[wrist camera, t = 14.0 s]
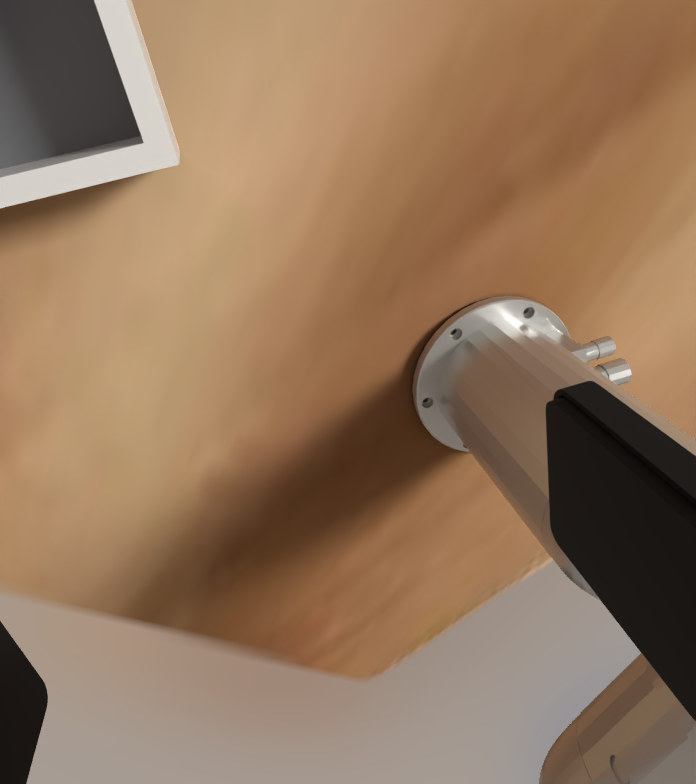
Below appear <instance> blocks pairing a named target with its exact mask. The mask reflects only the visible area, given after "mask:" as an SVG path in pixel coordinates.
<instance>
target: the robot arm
mask: <svg viewBox="0 0 696 784" xmlns="http://www.w3.org/2000/svg"><path fill="white" fill-rule="evenodd" d="M452 330H453V332H452ZM615 350H616V346H615V343H614V341H613V339H612V338H611V337H609V336H606V337H603V338H600V339H596V340H593V341H591V342H590V343H586V344H583V345H582V344H581V343H579V342H578V343H577V342H575V341H574V340H572V339H571V338H570V335H569V333H568V330H567V328H566V326H565V325H564V324H563V322H562V321H561V319H560V318H559V317H558V316H557V315H556V314H554V313H553V312H552V311H551V310H550V309H548V308H547V307H545V306H543V305H542V304H540V303H538V302H536V301H533V300H530V299H528V298H525V297H517V296H500V297H492V298H489V299H485V300H482V301H478V302H476V303H474V304H472V305H470V306H468V307H466V308H464V309H462V310H461V311H459V312H458V313H456V314H455V315H454V316H452V317H451V318H449V319H448V320H447V321H446V322H445V323H444V324H443V325H442V326H441V327H440V328H439V329H438V330H437V331H436V332H435V333H434V335H433V336H432V337H431V339H430V340H429V342H428V343H427V344H426V346H425V348H424V350H423V352H422V354H421V356H420V358H419V360H418V363H417V366H416V370H415V373H414V379H413V389H412V391H413V400H414V405H415V408H416V411H417V414H418V417H419V418H420V420H421V421H422V423H423V425H424V426H425V428H426V429H427V430H428V431H429V432H430V434H431V435H432V436H433V437H434V438H435V439H437V440H438V441H439V442H441V443H442V444H444V445H446V446H448V447H451V448H453V449H456V450H460V451H464V452H471V454H472V455H473V456H474V458H475V459H476V460H477V461H478V463H479V464H480V465H481V467H482V468H483V469H484V471H485V472H486V473H487V474H488V476H489V477H490V478H491V480H492V481H493V482H494V484H495V485H496V486H497V487H498V489H499V490H500V491H501V493H502V494H503V495H504V497H505V498H506V499H507V500H508V502H509V503H510V504H511V506H512V507H513V508H514V510H515V511H516V512H517V513H518V515H519V516H520V517H521V519H522V520H523V521H524V523H525V524H526V525H527V526H528V528H529V529H530V530H531V532H532V533H533V534H534V535H535V537H536V538H537V539H538V541H539V542H540V543H541V545H542V546H543V547H544V548H545V550H546V551H547V552H548V554H549V555H550V556H551V557H552V558H553V560H554V561H555V562H556V564H557V565H558V566H559V567H560V569H561V570H562V571H563V572H564V573H565V575H567V577H568V578H569V579H570V580H571V581H572V582H574V583H575V584H576V585H577V586H578V587H580V588H581V589H582V590H584V591H585V592H587V593H589V594H590V595H592V596H594V597H595V598H597V599H599V600H601V601H602V603H603V604H604V605H605V606H606V608H607V609H608V610H609V612H610V613H611V614H612V615H613V617H614V618H615V619H616V621H617V622H618V623H619V624H620V626H621V627H622V628H623V630H624V631H625V632H626V634H627V635H628V636H629V637H630V639H631V640H632V641H633V642H634V644H635V645H636V646H637V648H638V649H639V650H640V652H641V654H640V655H639V656H638V657H637V658H636V659H635V660H634V661H633V662H632V663H631V664H630V665H629V666H628V667H627V668H626V669H624V671H623V672H621V673H620V674H619V675H618V676H617V677H616V678H615V679H614V680H613V681H612V682H611V683H610V684H609V685H608V686H607V687H606V688H605V689H604V690H603V691H602V692H601V693H600V694H599V695H598V696H597V697H596V698H595V699H594V700H593V701H592V702H591V703H590V704H589V705H588V706H587V707H586V708H585V709H584V710H583V711H582V712H581V714H580V715H579V716H578V717H577V718H576V719H575V720H574V721H573V722H572V723H571V724H570V725H569V726H568V727H567V728H566V729H565V730H564V732H563V733H562V734H561V735H560V736H559V737H558V739H557V740H556V741H555V743H554V744H553V746H552V747H551V749H550V750H549V752H548V754H547V756H546V758H545V760H544V763H543V766H542V770H541V773H540V778H539V784H696V439H694V438H693V437H691V436H690V435H689V434H687V433H685V432H684V431H682V430H681V429H679V428H678V427H677V426H675V425H674V424H672V423H671V422H669V421H668V420H667V419H665V418H664V417H662V416H661V415H659V414H658V413H657V412H655V411H654V410H652V409H651V408H650V407H648V406H647V405H645V404H644V403H642V402H641V401H640V400H638V399H637V398H635V397H634V396H632V395H631V394H630V393H628V392H627V391H625V390H624V389H623V388H621V387H620V386H619V385H622V384H625V383H628V382H629V381H630V380H631V375H632V374H631V369H630V367H629V365H628V363H627V362H626V361H625V360H624V359H621V358H619V359H615V360H612V361H609V362H606V363H603V364H599V365H597V366H596V367H594V368H593V367H591V366H590V365H588V364H587V361H590V360H593V359H599V358H603V357H606V356H609V355H612V354H614V353H615ZM47 700H48V696H47V689H46V686H45V684H44V682H43V680H42V679H41V677H40V676H39V674H38V673H37V672H36V670H35V669H34V667H33V666H32V665H31V663H30V662H29V661H28V659H27V658H26V656H25V655H24V654H23V652H22V651H21V649H20V648H19V647H18V645H17V644H16V642H15V641H14V640H13V638H12V637H11V636H10V634H9V633H8V631H7V630H6V628H5V627H4V626H3V624H2V623H1V621H0V784H26V782H27V778H28V775H29V771H30V767H31V764H32V760H33V756H34V752H35V749H36V745H37V742H38V738H39V734H40V730H41V727H42V723H43V719H44V716H45V712H46V708H47V702H48V701H47Z"/></svg>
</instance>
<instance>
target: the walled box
mask: <svg viewBox="0 0 696 784" xmlns="http://www.w3.org/2000/svg"><path fill="white" fill-rule="evenodd" d="M179 159H180V150H179V147H178V144H177V140H176V137H175V134H174V131H173V128H172V125H171V122H170V119H169V116H168V112H167V109H166V106H165V103H164V100H163V97H162V94H161V91H160V88H159V85H158V81H157V78H156V75H155V72H154V69H153V66H152V63H151V60H150V57H149V53H148V50H147V47H146V44H145V41H144V38H143V35H142V32H141V29H140V26H139V22H138V19H137V16H136V13H135V10H134V7H133V4H132V1H131V0H0V208H4V207H8V206H12V205H16V204H20V203H24V202H28V201H32V200H37V199H41V198H45V197H49V196H53V195H57V194H61V193H65V192H69V191H73V190H77V189H81V188H85V187H89V186H94V185H98V184H102V183H106V182H110V181H114V180H118V179H122V178H126V177H130V176H134V175H138V174H142V173H146V172H151V171H155V170H159V169H163V168H167V167H171V166H175V165H179Z"/></svg>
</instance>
